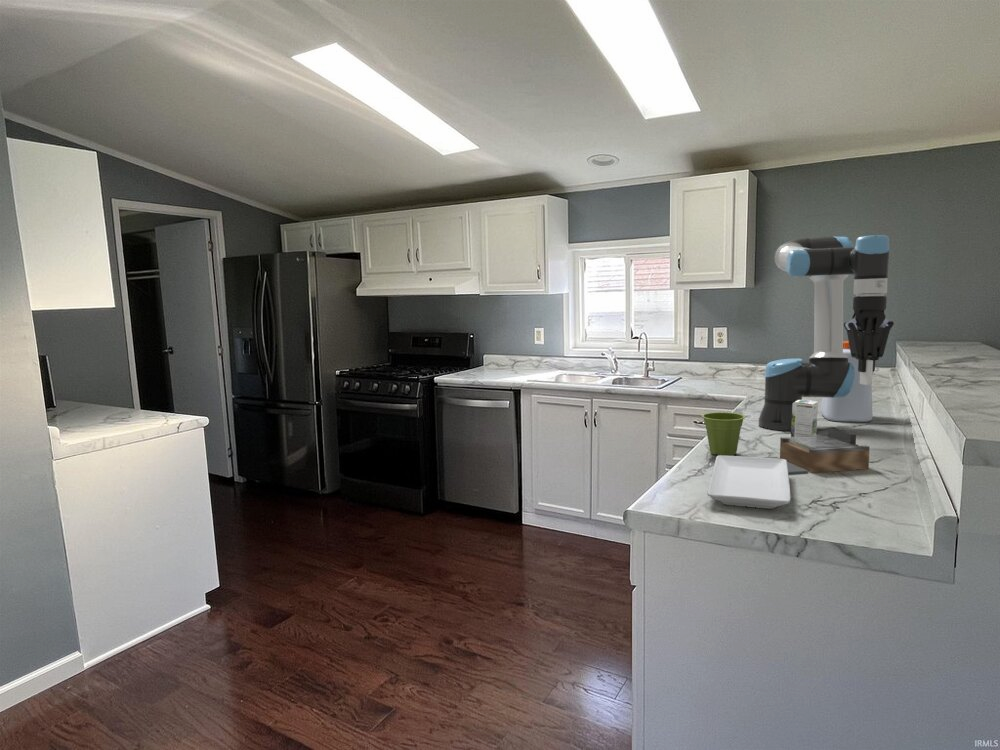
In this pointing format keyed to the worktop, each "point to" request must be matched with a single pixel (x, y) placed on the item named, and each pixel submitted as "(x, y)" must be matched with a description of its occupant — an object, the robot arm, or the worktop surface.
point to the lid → (826, 440)
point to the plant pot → (723, 432)
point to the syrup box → (804, 418)
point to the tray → (750, 481)
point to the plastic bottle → (850, 399)
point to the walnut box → (825, 457)
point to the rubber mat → (792, 468)
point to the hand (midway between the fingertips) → (865, 384)
